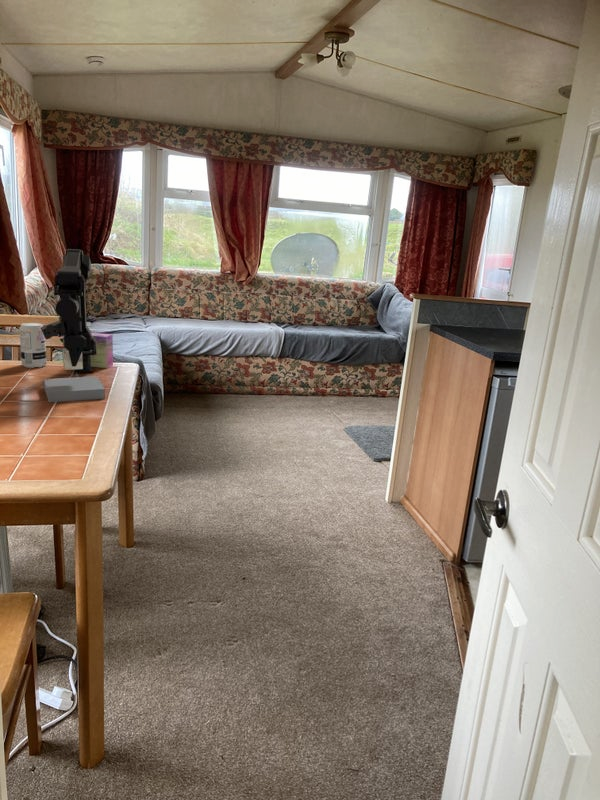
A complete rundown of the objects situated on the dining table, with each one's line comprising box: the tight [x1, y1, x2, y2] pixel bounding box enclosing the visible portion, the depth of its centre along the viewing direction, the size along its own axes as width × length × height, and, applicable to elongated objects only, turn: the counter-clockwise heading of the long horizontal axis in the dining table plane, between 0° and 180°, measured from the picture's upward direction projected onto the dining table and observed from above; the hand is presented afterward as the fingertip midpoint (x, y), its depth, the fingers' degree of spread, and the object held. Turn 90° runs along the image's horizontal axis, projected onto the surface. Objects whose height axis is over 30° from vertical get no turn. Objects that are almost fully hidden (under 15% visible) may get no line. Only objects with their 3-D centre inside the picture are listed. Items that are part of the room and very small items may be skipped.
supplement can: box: [18, 322, 48, 369], centre depth 216 cm, size 8×8×15 cm
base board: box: [43, 375, 106, 403], centre depth 188 cm, size 16×16×3 cm
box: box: [90, 332, 114, 369], centre depth 222 cm, size 10×6×12 cm, turn 84°
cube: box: [62, 349, 83, 371], centre depth 185 cm, size 5×5×5 cm
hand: (73, 364), depth 186 cm, fingers closed on cube, 5 cm apart
